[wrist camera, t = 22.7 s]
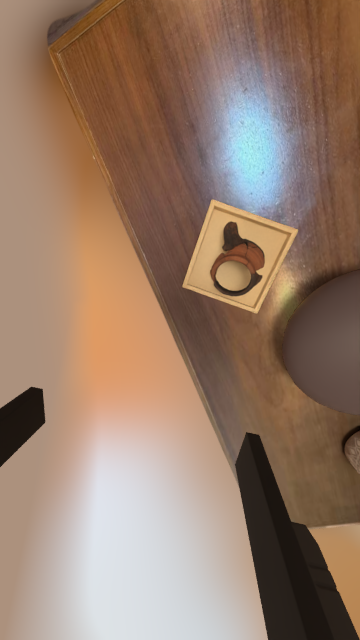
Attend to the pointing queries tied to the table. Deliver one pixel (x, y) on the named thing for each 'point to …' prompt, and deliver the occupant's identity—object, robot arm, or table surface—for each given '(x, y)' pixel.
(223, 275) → the wooden tray
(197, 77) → the table surface
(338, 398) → the smooth stone
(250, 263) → the pottery mug
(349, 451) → the planter
